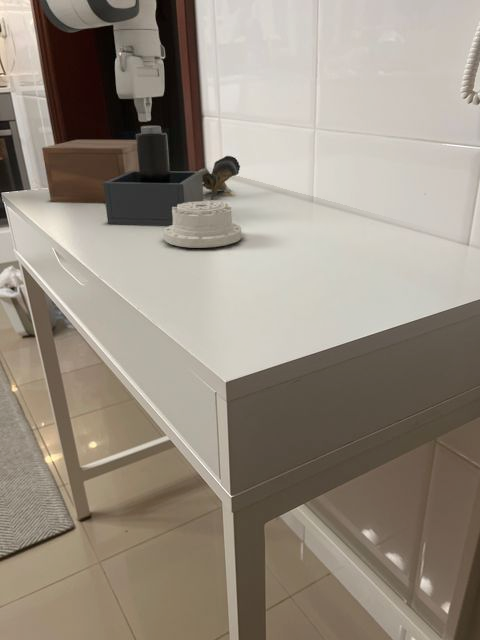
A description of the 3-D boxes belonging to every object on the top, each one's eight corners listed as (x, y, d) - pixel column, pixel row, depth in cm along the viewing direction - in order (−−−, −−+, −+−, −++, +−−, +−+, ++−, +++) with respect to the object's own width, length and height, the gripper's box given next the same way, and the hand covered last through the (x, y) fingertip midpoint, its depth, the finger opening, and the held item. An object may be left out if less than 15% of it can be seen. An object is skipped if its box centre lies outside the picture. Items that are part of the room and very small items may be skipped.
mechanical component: (199, 255, 66) (257, 239, 73) (197, 217, 64) (257, 204, 71) (149, 240, 72) (206, 227, 79) (145, 206, 70) (204, 195, 77)
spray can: (139, 213, 83) (130, 127, 78) (148, 207, 87) (140, 125, 82) (167, 214, 83) (161, 127, 77) (175, 208, 87) (169, 125, 81)
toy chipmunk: (244, 193, 96) (249, 175, 103) (219, 157, 93) (227, 141, 100) (209, 215, 99) (217, 196, 106) (184, 182, 96) (194, 164, 103)
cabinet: (83, 187, 108) (77, 139, 104) (152, 188, 107) (148, 140, 103) (50, 201, 96) (41, 147, 92) (127, 203, 94) (121, 148, 91)
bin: (107, 224, 81) (102, 182, 78) (134, 207, 91) (130, 170, 89) (185, 226, 79) (183, 184, 77) (203, 209, 90) (202, 171, 87)
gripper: (135, 44, 103) (143, 124, 109) (167, 49, 122) (172, 118, 128) (102, 45, 104) (112, 124, 110) (139, 50, 122) (146, 118, 128)
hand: (145, 121), depth 119 cm, fingers closed
